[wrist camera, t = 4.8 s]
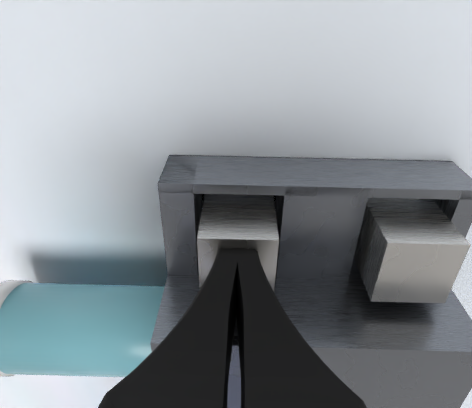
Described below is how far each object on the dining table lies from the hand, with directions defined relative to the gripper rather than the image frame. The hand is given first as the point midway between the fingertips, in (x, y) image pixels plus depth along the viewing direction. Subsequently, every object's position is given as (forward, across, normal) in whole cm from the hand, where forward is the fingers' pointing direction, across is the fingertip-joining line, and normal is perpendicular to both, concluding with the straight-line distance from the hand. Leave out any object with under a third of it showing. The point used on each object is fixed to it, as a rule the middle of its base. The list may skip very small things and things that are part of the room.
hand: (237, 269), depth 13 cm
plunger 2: (+4, -6, 0) cm, 7 cm away
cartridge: (+4, +4, +5) cm, 8 cm away
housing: (+4, -3, +3) cm, 6 cm away
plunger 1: (+4, 0, 0) cm, 4 cm away
